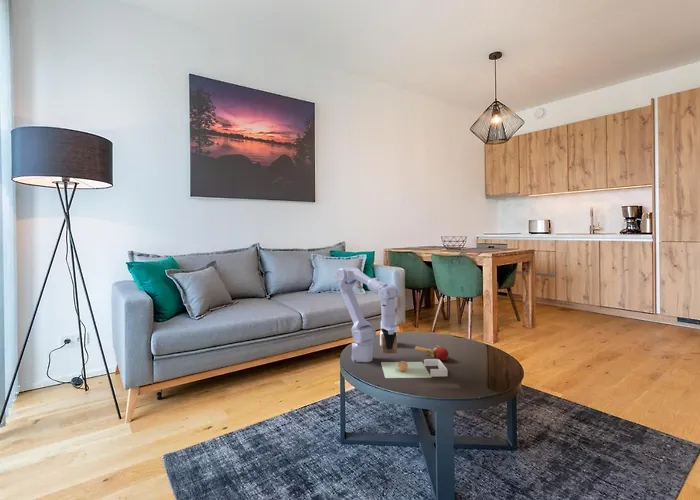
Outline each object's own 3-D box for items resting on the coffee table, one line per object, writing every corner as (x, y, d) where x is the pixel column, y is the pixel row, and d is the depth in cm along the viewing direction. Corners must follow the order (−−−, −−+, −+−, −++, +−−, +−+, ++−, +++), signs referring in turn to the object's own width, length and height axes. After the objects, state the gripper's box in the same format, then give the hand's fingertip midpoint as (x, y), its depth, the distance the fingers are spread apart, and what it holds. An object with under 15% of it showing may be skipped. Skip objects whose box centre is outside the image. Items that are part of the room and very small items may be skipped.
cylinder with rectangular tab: (376, 344, 178) (376, 322, 178) (387, 341, 184) (387, 319, 184) (389, 348, 171) (389, 325, 171) (400, 344, 178) (400, 322, 177)
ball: (398, 372, 136) (398, 362, 136) (397, 369, 140) (397, 359, 140) (408, 372, 136) (408, 362, 136) (406, 368, 140) (406, 359, 140)
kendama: (410, 357, 163) (441, 362, 149) (410, 343, 164) (441, 347, 150) (421, 356, 167) (452, 361, 153) (421, 343, 169) (452, 347, 154)
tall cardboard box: (382, 353, 139) (382, 336, 139) (381, 350, 143) (381, 334, 143) (397, 353, 139) (396, 336, 139) (395, 350, 143) (395, 333, 143)
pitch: (385, 381, 131) (385, 371, 131) (380, 365, 148) (380, 356, 148) (448, 381, 131) (448, 370, 131) (436, 365, 148) (436, 356, 148)
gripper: (400, 318, 134) (401, 352, 134) (395, 311, 148) (395, 341, 148) (383, 318, 134) (383, 352, 134) (379, 311, 148) (379, 342, 148)
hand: (388, 347), depth 141 cm, fingers closed on tall cardboard box, 4 cm apart
